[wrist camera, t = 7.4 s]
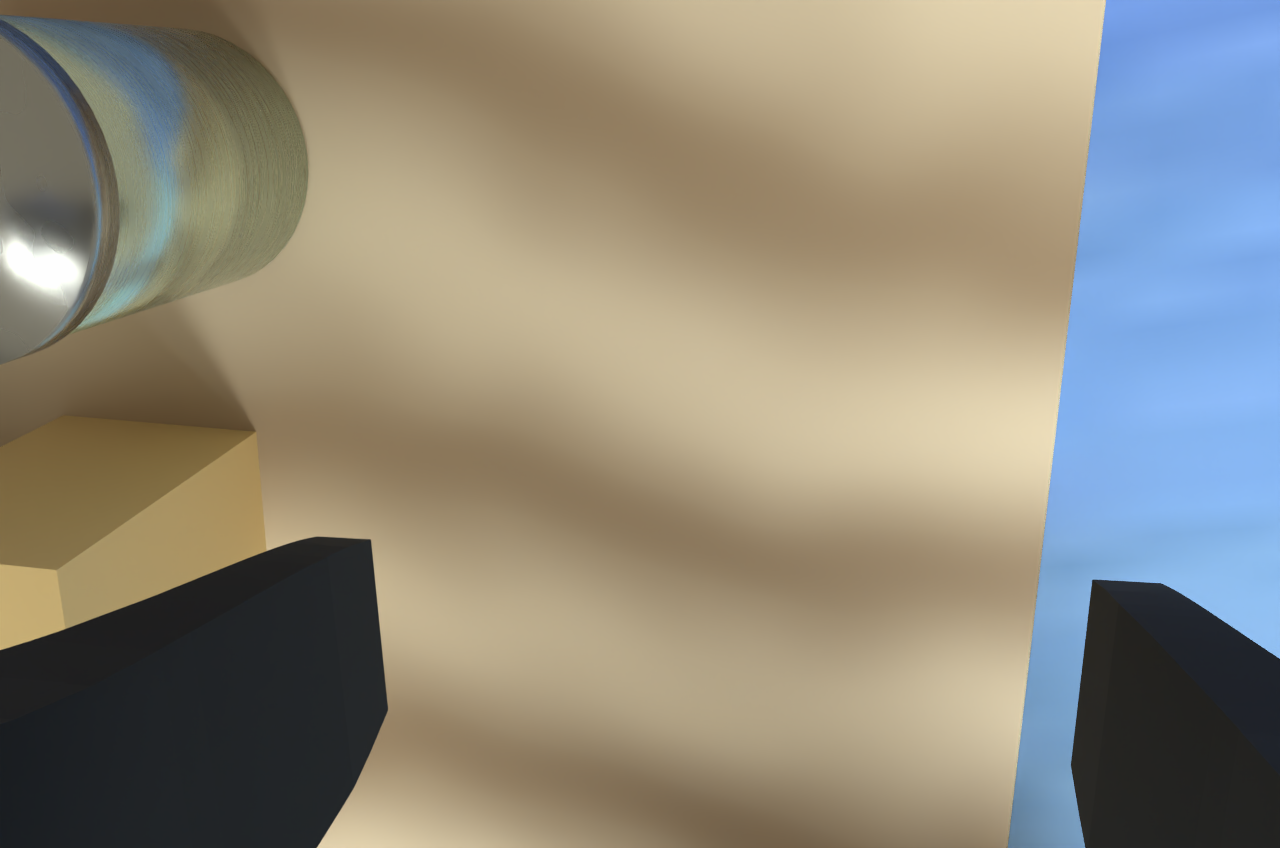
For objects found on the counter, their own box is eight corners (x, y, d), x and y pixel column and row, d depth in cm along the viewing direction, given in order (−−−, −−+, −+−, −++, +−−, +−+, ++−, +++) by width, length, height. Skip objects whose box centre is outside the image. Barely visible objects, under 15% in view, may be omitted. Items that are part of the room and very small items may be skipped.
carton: (279, 706, 24) (108, 912, 19) (100, 684, 25) (-119, 877, 19) (255, 431, 22) (56, 570, 17) (61, 415, 23) (-195, 543, 17)
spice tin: (342, 270, 21) (135, 344, 15) (114, 308, 22) (-164, 392, 16) (275, -3, 20) (23, -39, 14) (38, 50, 21) (-290, 39, 15)
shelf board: (988, 904, 24) (1011, 1046, 21) (24, 796, 28) (-89, 903, 25) (1094, -30, 18) (1148, -40, 15) (-143, -16, 22) (-322, -22, 19)
